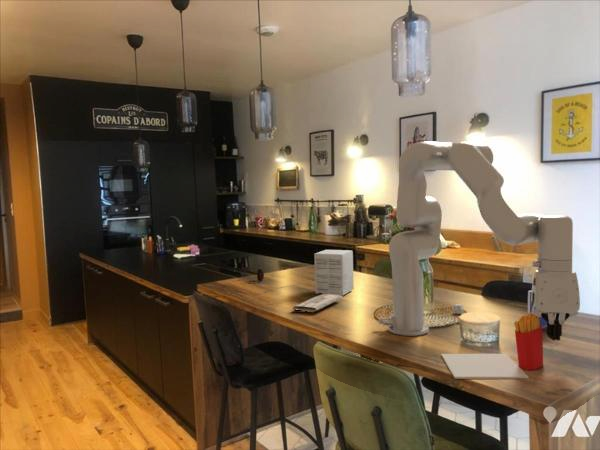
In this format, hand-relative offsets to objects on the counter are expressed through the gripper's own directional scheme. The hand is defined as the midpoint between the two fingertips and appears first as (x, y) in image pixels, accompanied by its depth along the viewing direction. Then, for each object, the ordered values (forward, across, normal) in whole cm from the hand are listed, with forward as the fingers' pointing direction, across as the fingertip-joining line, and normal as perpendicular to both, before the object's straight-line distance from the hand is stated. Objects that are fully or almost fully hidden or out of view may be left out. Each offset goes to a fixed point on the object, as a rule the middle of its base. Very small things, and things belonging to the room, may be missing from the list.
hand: (554, 338), depth 125 cm
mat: (+7, -18, 0) cm, 19 cm away
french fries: (+7, -6, 0) cm, 9 cm away
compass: (+7, -93, +108) cm, 143 cm away
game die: (+7, -11, +52) cm, 54 cm away
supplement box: (+7, -55, +90) cm, 106 cm away
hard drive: (+7, +9, +32) cm, 34 cm away
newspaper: (+8, -62, +66) cm, 91 cm away
